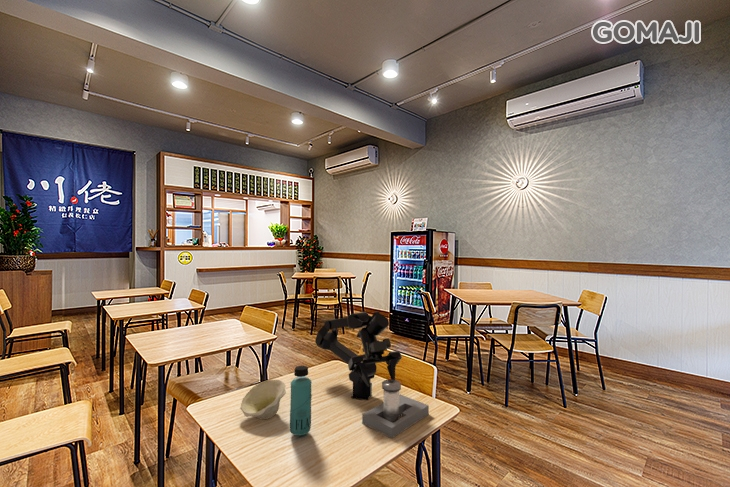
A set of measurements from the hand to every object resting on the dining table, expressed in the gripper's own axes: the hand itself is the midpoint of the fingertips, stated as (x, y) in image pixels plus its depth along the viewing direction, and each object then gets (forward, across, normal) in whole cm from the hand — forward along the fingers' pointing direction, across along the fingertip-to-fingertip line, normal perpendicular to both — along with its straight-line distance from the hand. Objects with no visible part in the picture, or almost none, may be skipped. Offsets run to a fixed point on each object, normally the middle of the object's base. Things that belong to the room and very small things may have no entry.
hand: (381, 384), depth 111 cm
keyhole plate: (+10, +4, +4) cm, 12 cm away
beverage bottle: (+9, -28, +6) cm, 30 cm away
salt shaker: (+12, 0, +3) cm, 12 cm away
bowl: (-1, -37, +16) cm, 41 cm away
